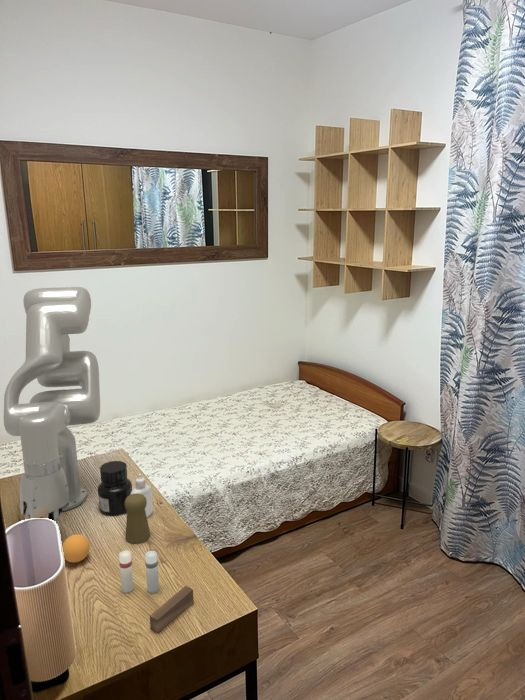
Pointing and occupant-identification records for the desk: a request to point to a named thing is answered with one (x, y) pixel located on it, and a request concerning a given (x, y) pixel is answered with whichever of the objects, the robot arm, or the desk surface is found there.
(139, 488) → the eye dropper bottle
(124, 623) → the desk surface
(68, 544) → the ball
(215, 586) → the desk surface
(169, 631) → the desk surface
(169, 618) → the rail
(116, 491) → the ink bottle
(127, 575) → the front pin
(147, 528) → the olive pawn
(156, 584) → the rear pin
